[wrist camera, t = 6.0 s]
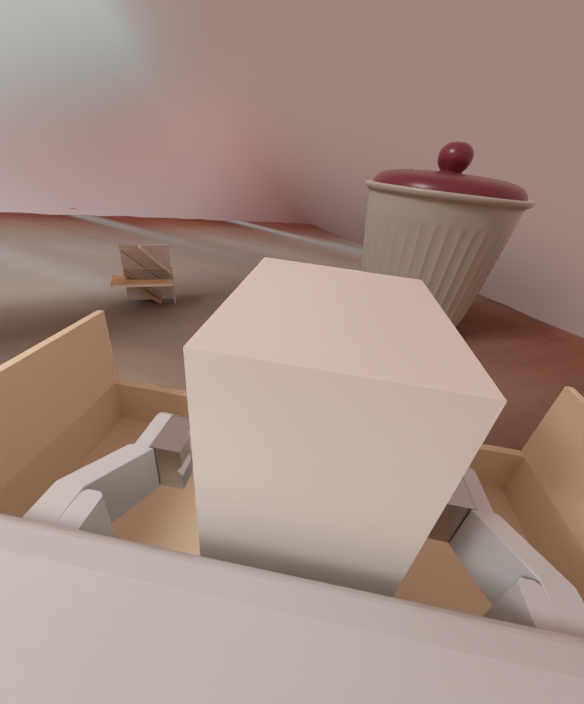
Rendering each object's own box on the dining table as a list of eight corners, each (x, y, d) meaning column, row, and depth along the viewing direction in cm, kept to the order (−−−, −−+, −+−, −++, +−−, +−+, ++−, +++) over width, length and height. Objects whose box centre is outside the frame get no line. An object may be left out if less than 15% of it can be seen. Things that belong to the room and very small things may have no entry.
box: (337, 689, 12) (506, 401, 5) (208, 659, 12) (182, 346, 5) (339, 532, 17) (422, 280, 10) (249, 514, 17) (264, 257, 10)
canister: (314, 308, 45) (341, 127, 34) (387, 289, 56) (426, 148, 45) (430, 369, 34) (526, 129, 23) (494, 331, 44) (580, 156, 34)
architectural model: (177, 311, 40) (172, 252, 37) (116, 314, 38) (103, 251, 34) (175, 300, 43) (170, 244, 39) (118, 303, 41) (106, 243, 37)
